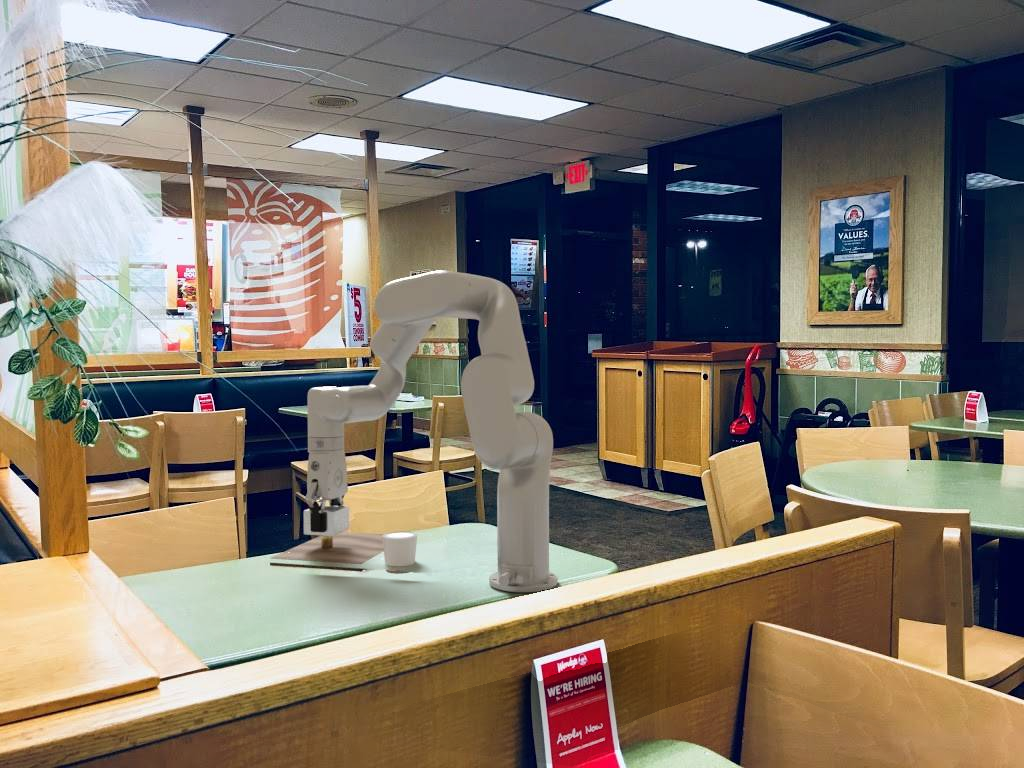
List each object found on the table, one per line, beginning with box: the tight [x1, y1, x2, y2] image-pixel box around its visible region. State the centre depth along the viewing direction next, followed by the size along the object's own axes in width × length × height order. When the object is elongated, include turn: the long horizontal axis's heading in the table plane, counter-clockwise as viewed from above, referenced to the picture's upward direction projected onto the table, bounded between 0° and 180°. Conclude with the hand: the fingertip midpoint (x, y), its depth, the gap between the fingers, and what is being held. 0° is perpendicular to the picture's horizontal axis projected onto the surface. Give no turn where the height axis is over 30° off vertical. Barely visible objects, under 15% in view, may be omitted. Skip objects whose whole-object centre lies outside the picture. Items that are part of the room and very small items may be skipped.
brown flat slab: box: [269, 531, 385, 572], centre depth 170 cm, size 26×20×2 cm
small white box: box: [303, 504, 350, 536], centre depth 169 cm, size 7×7×5 cm
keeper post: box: [320, 535, 333, 549], centre depth 169 cm, size 2×2×4 cm
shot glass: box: [382, 531, 418, 575], centre depth 156 cm, size 7×7×7 cm
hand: (326, 527), depth 169 cm, fingers closed on small white box, 7 cm apart
